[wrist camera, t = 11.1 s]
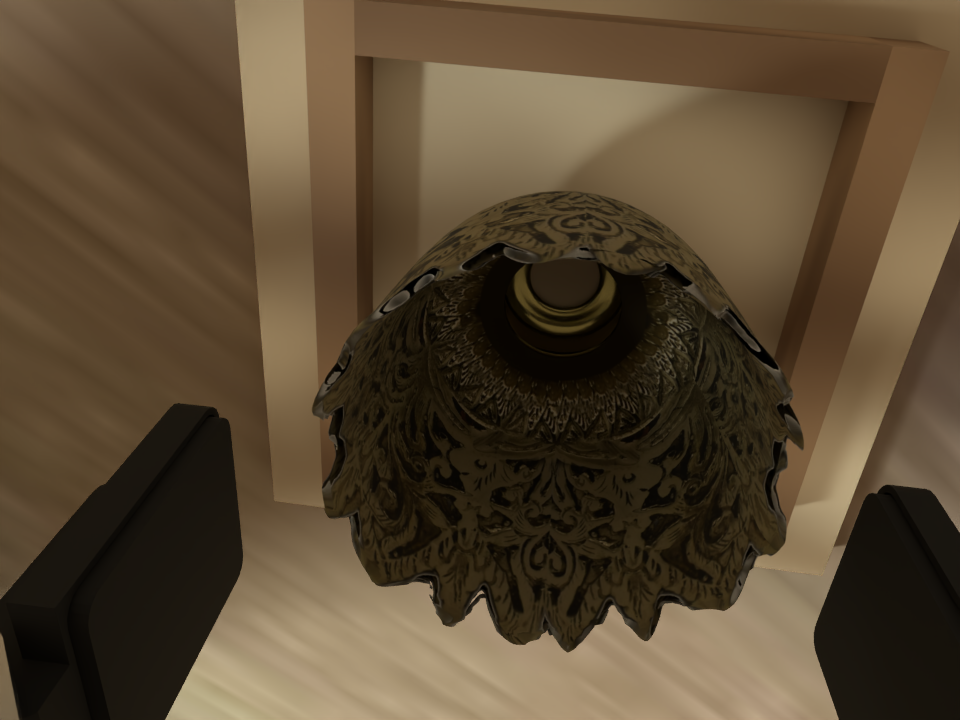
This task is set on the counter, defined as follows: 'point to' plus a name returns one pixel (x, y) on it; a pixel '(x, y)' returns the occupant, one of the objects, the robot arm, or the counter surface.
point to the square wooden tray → (613, 182)
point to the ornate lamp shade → (559, 427)
